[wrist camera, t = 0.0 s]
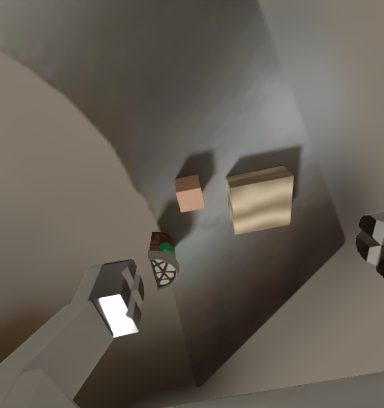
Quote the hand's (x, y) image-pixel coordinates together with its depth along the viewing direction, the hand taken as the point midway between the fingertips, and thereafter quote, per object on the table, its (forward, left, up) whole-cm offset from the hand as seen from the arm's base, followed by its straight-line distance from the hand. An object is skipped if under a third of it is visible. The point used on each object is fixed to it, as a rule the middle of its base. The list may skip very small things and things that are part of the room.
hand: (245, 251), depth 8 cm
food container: (+35, -12, -39) cm, 54 cm away
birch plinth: (+25, +12, -39) cm, 48 cm away
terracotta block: (+19, -3, -39) cm, 43 cm away
